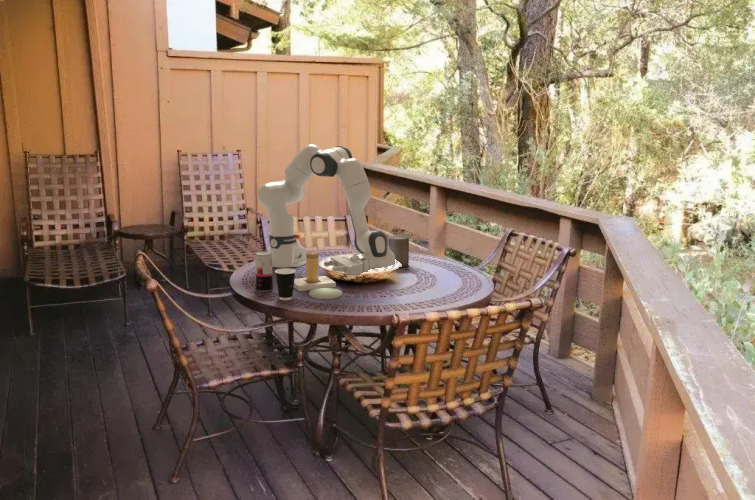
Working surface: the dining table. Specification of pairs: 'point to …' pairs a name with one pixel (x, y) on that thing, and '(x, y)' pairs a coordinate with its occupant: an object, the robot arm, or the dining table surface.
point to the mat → (325, 293)
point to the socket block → (323, 282)
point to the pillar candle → (400, 248)
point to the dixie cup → (285, 283)
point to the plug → (312, 268)
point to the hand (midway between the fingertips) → (328, 266)
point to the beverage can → (264, 271)
